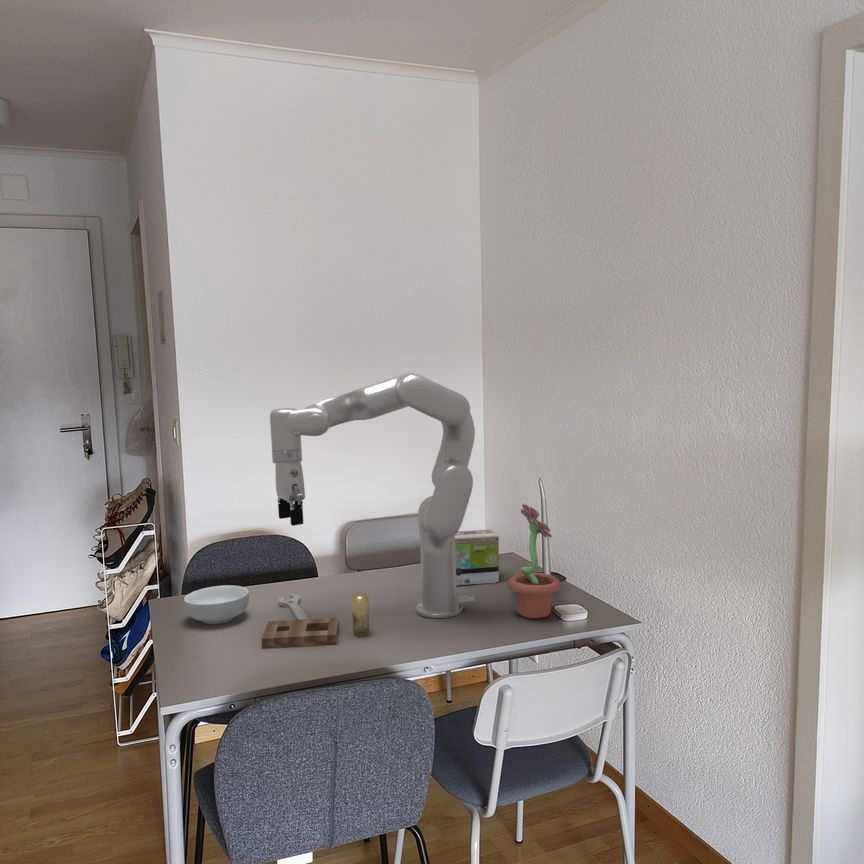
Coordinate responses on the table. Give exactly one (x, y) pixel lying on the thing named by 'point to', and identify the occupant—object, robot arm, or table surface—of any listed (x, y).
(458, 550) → the tea box
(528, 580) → the decorative flower
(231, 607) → the cereal bowl
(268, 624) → the socket board
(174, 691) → the table surface
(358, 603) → the brass peg
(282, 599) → the adjustable wrench
